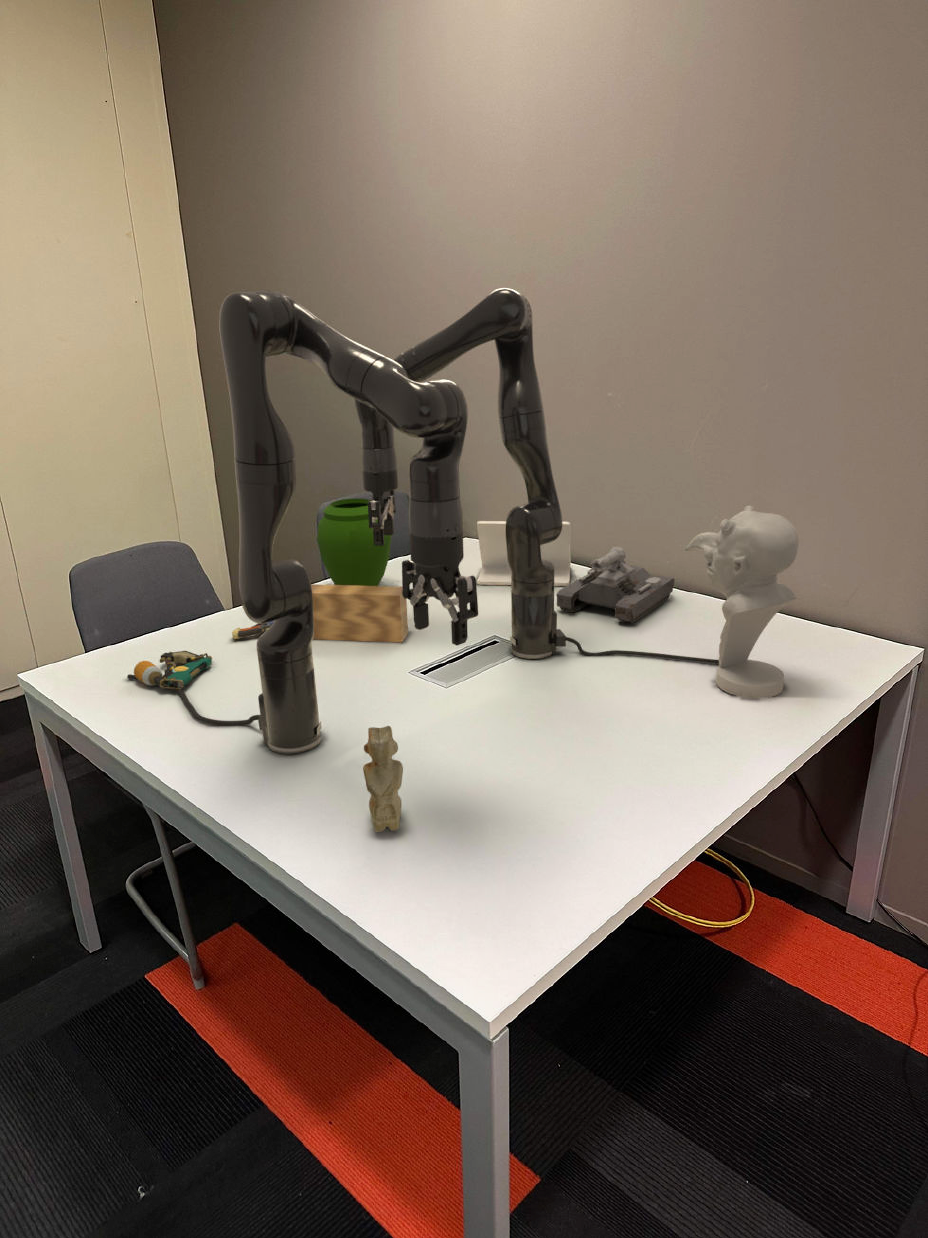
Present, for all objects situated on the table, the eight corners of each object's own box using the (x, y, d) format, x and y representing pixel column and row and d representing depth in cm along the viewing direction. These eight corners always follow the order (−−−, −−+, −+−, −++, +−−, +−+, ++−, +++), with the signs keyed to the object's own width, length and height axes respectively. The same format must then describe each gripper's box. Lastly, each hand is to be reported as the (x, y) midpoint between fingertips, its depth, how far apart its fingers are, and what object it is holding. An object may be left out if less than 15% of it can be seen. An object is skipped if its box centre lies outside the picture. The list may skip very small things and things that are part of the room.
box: (408, 632, 201) (405, 586, 197) (402, 642, 195) (399, 595, 191) (295, 628, 205) (291, 583, 201) (286, 638, 200) (281, 592, 196)
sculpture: (406, 808, 131) (401, 721, 126) (405, 835, 125) (400, 745, 119) (368, 810, 131) (361, 723, 126) (365, 837, 124) (358, 747, 119)
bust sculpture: (717, 648, 186) (730, 489, 174) (806, 688, 166) (828, 512, 154) (660, 663, 179) (669, 500, 167) (745, 707, 159) (763, 525, 147)
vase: (409, 587, 231) (404, 499, 223) (364, 609, 216) (357, 515, 208) (353, 577, 241) (346, 492, 233) (306, 597, 226) (297, 507, 218)
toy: (603, 584, 229) (605, 530, 224) (673, 597, 218) (677, 540, 213) (555, 612, 210) (556, 553, 205) (630, 627, 199) (633, 566, 194)
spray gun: (177, 659, 191) (231, 671, 185) (120, 684, 176) (176, 698, 171) (176, 641, 190) (230, 653, 184) (118, 665, 175) (174, 678, 169)
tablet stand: (569, 585, 229) (570, 524, 223) (476, 584, 232) (475, 523, 226) (570, 566, 246) (571, 508, 240) (484, 564, 249) (483, 507, 243)
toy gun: (228, 631, 198) (268, 628, 196) (261, 608, 215) (298, 605, 213) (230, 642, 198) (270, 639, 196) (263, 618, 216) (300, 616, 214)
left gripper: (384, 524, 122) (390, 630, 128) (448, 543, 112) (452, 656, 118) (424, 515, 127) (429, 617, 133) (490, 532, 117) (492, 641, 122)
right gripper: (371, 461, 192) (376, 531, 197) (353, 474, 179) (359, 548, 184) (404, 461, 191) (407, 532, 196) (388, 474, 177) (392, 549, 183)
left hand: (440, 635), depth 125 cm, fingers open, 8 cm apart
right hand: (384, 540), depth 190 cm, fingers open, 8 cm apart
